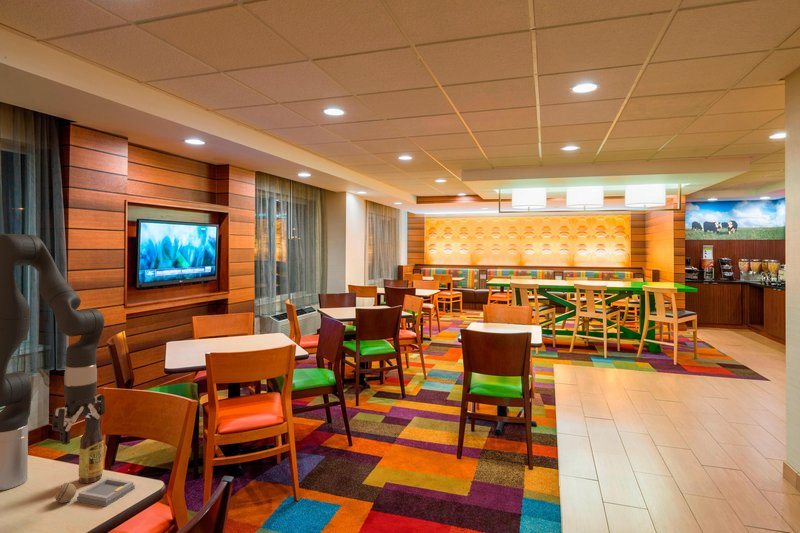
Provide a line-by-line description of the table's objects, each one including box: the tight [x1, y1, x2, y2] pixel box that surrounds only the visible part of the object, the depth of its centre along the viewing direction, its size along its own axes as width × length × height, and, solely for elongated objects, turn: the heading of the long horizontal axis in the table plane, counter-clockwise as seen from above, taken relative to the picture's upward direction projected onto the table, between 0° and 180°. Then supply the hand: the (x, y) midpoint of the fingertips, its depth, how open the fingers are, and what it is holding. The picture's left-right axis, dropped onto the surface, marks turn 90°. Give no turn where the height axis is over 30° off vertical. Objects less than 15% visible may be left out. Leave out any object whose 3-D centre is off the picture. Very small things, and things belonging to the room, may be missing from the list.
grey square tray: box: [76, 477, 136, 507], centre depth 134 cm, size 10×10×2 cm
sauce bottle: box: [78, 415, 105, 484], centre depth 142 cm, size 7×6×20 cm
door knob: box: [54, 482, 77, 504], centre depth 130 cm, size 5×5×5 cm
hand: (79, 437), depth 129 cm, fingers open, 8 cm apart
